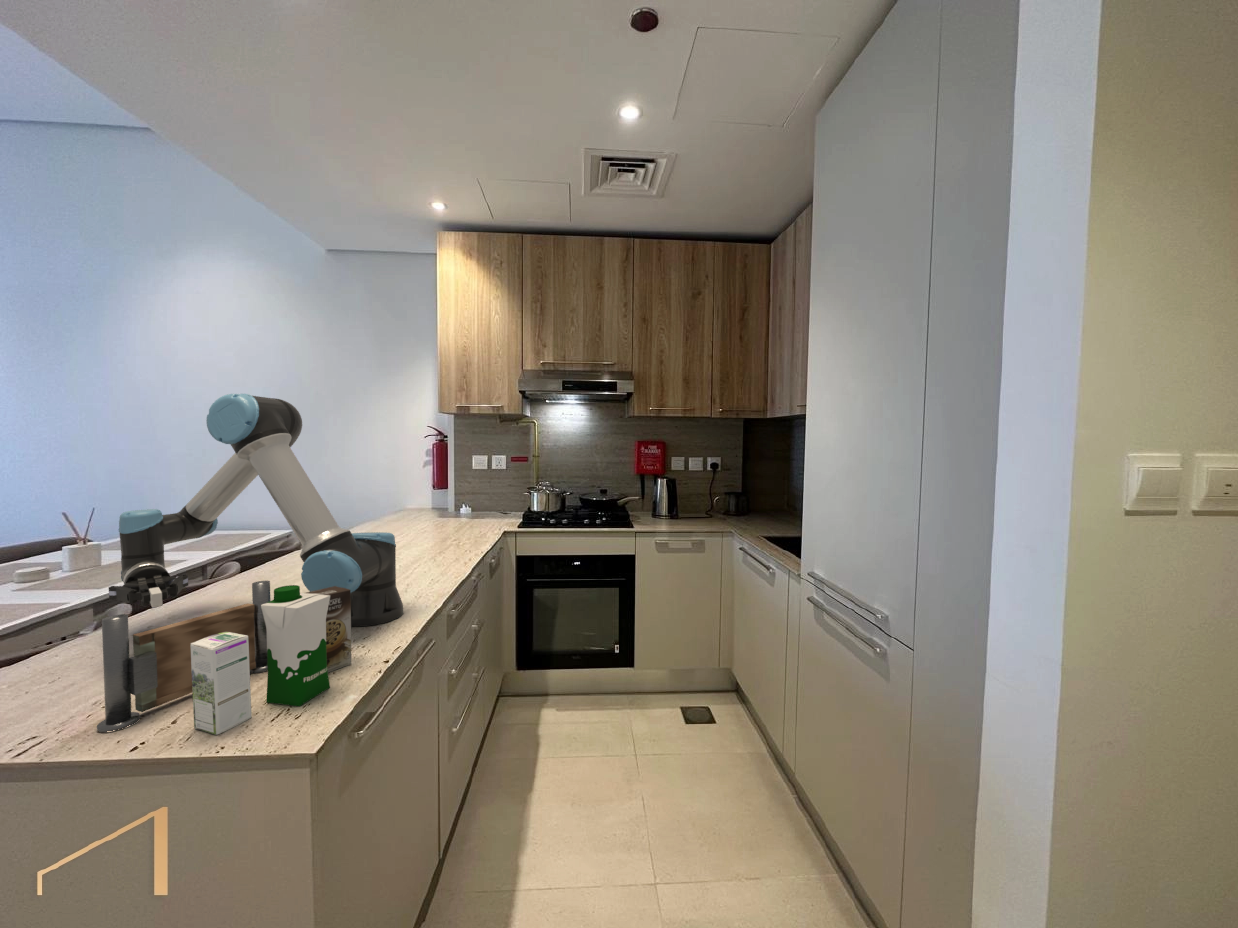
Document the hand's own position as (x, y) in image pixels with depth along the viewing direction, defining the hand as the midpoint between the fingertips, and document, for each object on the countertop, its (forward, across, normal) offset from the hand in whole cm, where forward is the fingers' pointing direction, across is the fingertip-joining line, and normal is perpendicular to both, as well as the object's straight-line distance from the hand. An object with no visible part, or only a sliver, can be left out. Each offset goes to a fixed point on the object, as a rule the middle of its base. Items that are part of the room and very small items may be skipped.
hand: (157, 600), depth 96 cm
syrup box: (+30, -5, -17) cm, 34 cm away
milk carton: (+28, -16, -17) cm, 37 cm away
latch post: (+17, +6, -16) cm, 24 cm away
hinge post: (+10, -15, -16) cm, 24 cm away
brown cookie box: (+19, -23, -17) cm, 34 cm away
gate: (+13, -4, -15) cm, 21 cm away
